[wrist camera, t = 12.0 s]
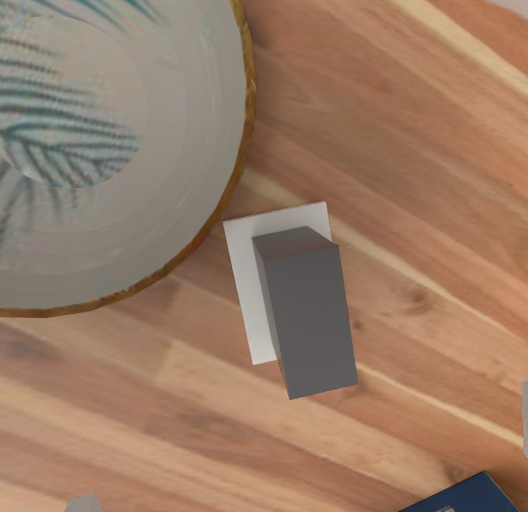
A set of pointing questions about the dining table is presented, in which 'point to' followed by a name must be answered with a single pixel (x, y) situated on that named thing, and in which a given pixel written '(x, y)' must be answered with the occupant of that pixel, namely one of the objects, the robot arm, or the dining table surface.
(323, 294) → the block
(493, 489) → the protein box
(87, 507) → the robot arm
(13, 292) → the bowl
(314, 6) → the dining table surface
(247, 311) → the white peg board
